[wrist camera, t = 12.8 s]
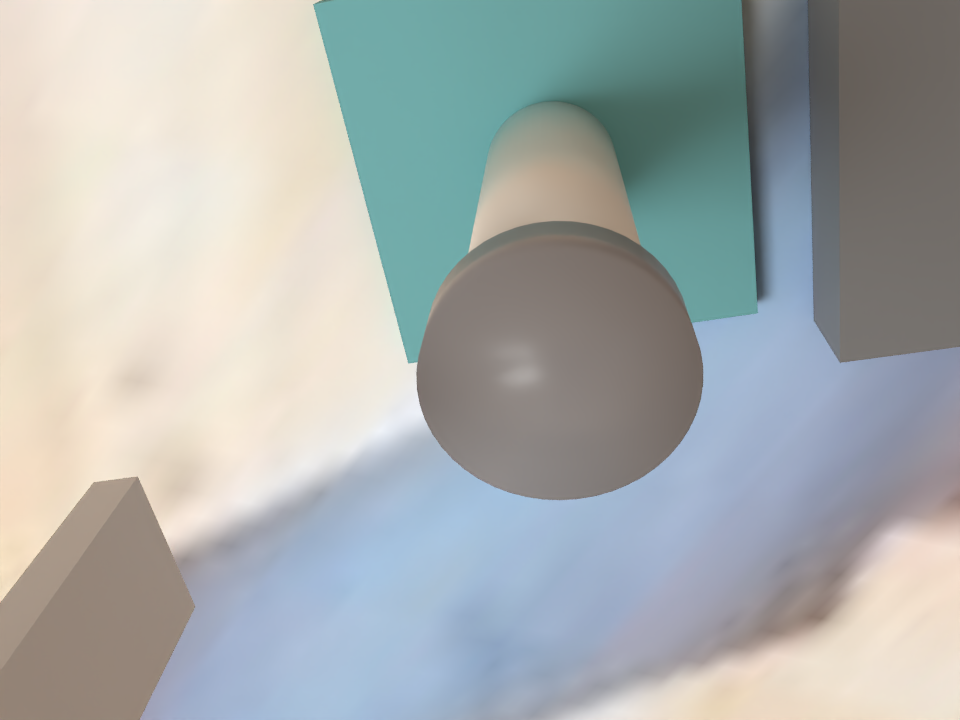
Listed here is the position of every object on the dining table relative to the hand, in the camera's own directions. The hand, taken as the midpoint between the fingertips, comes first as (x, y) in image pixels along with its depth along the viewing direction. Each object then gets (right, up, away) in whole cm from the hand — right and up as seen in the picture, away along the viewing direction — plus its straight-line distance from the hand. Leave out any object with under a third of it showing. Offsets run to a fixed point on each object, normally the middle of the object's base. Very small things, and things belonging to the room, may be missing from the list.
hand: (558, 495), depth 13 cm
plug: (+1, +8, +14) cm, 16 cm away
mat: (+1, +8, +14) cm, 17 cm away
